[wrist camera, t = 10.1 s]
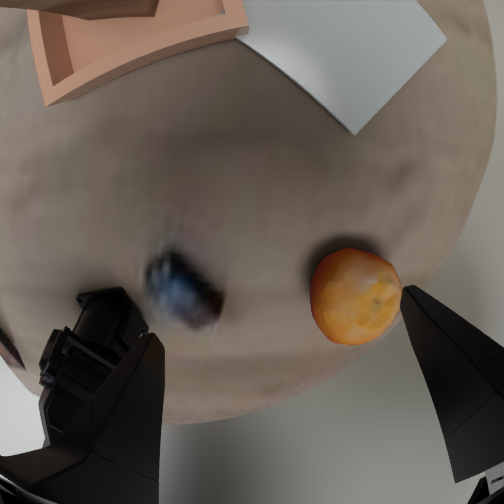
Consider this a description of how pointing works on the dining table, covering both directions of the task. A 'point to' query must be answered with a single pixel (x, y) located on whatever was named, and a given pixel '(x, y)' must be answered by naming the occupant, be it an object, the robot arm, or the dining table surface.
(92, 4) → the walnut block
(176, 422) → the dining table surface
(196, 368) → the dining table surface
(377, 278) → the fruit
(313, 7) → the light grey board
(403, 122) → the dining table surface
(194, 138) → the dining table surface
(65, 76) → the box
